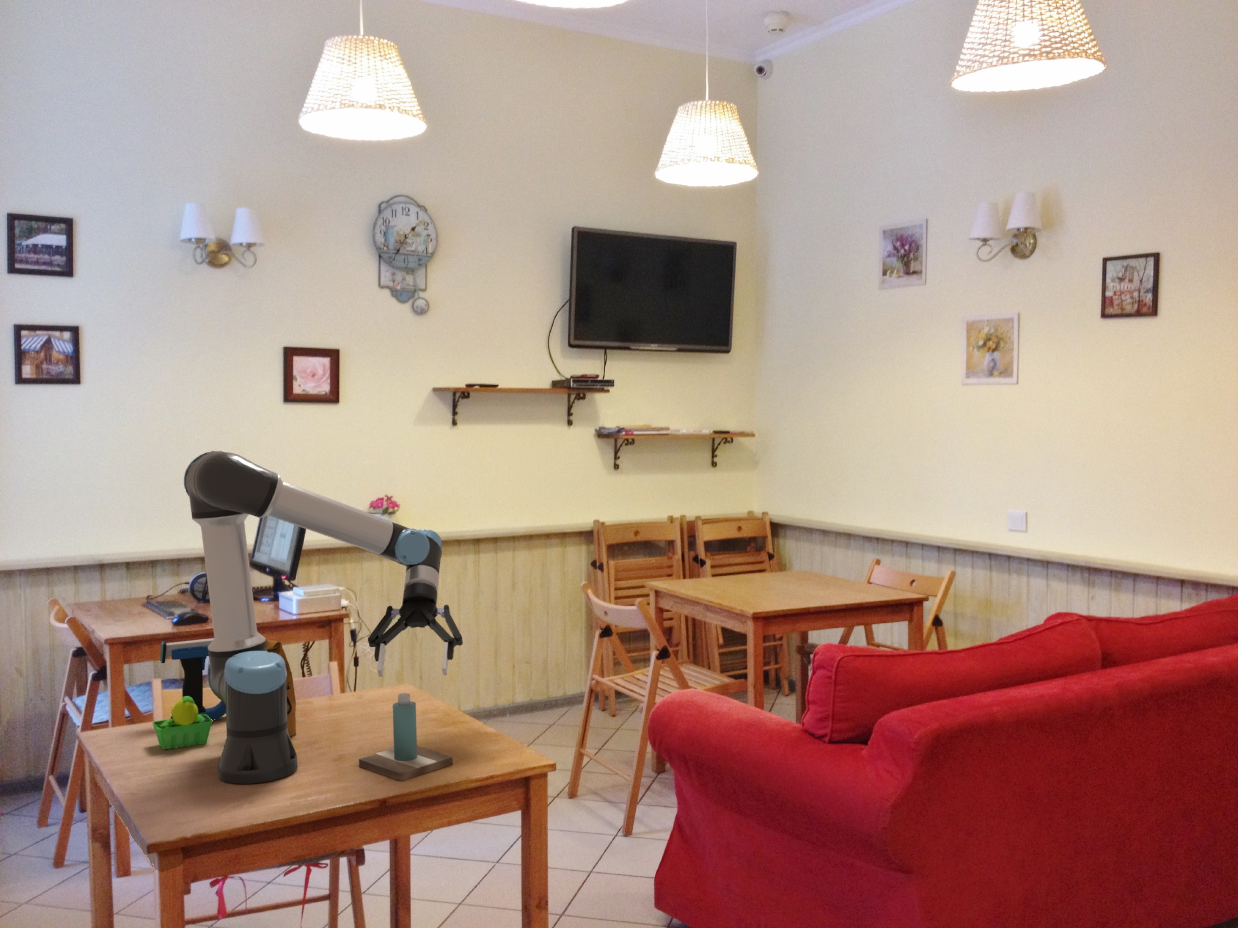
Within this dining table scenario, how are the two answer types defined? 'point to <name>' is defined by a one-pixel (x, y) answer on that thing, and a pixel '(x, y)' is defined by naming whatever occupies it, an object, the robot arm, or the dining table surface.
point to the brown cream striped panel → (405, 763)
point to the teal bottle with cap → (404, 728)
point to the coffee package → (291, 702)
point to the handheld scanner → (193, 671)
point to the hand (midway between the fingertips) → (412, 672)
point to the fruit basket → (183, 726)
